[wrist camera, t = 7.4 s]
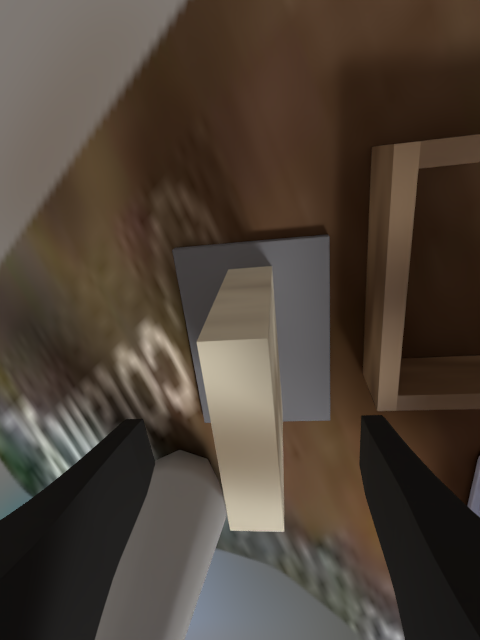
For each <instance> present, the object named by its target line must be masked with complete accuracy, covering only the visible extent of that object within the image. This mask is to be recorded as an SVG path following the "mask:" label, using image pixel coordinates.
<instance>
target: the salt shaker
mask: <svg viewBox="0 0 480 640" xmlns="http://www.w3.org/2000/svg"><path fill="white" fill-rule="evenodd" d="M225 519H226V505H225V501H224V496H223V492H222V490H221V488H220V485H219V481H218V478H217V476H216V474H215V472H214V470H213V469H212V467H211V465H210V463H209V461H208V459H207V458H203V457H200V456H197V455H194V454H191V453H188V452H185V451H182V450H178V451H176V452H173V453H171V454H169V455H167V456H164V457H162V458H160V459H157V460H156V461H155V467H154V471H153V475H152V479H151V482H150V486H149V489H148V493H147V495H146V498H145V501H144V503H143V506H142V508H141V510H140V513H139V515H138V518H137V520H136V523H135V525H134V528H133V530H132V532H131V535H130V537H129V540H128V542H127V545H126V547H125V549H124V552H123V554H122V557H121V559H120V562H119V564H118V567H117V570H116V572H115V575H114V578H113V581H112V584H111V587H110V590H109V594H108V597H107V600H106V603H105V607H104V610H103V613H102V616H101V620H100V623H99V627H98V630H97V634H96V637H95V640H184V639H185V636H186V633H187V631H188V627H189V624H190V622H191V619H192V616H193V613H194V610H195V607H196V604H197V601H198V598H199V595H200V592H201V589H202V586H203V583H204V581H205V578H206V574H207V572H208V569H209V566H210V563H211V560H212V557H213V554H214V551H215V548H216V545H217V542H218V539H219V536H220V533H221V531H222V528H223V525H224V522H225Z"/></svg>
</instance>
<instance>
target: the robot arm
mask: <svg viewBox="0 0 480 640" xmlns="http://www.w3.org/2000/svg"><path fill="white" fill-rule="evenodd" d="M154 467H155V461H154V457H153V454H152V450H151V446H150V443H149V439H148V436H147V432H146V428H145V425H144V421H143V419H126V420H125V421H124V422H122V423H121V424H120V425H119V426H118V427H116V428H115V429H114V430H113V431H112V432H111V433H110V434H109V435H107V436H106V437H105V438H104V439H103V440H102V441H101V442H100V443H99V444H97V445H96V446H95V447H94V448H93V449H92V450H91V451H89V452H88V453H87V454H86V455H85V456H84V457H83V458H81V459H80V460H79V461H78V462H77V463H76V464H75V465H73V466H72V467H71V468H70V469H68V470H67V471H66V472H65V473H64V474H62V475H61V476H60V477H59V478H57V479H56V480H55V481H54V482H53V483H51V484H50V485H49V486H48V487H46V488H45V489H44V490H42V491H41V492H40V493H38V494H37V495H36V496H34V497H33V498H32V499H30V500H29V501H28V502H26V503H25V504H23V505H22V506H20V507H19V508H18V509H16V510H15V511H13V512H12V513H11V514H9V515H7V516H6V517H5V518H3V519H1V520H0V640H95V637H96V634H97V630H98V627H99V623H100V620H101V616H102V613H103V610H104V607H105V603H106V600H107V597H108V594H109V590H110V587H111V584H112V581H113V578H114V575H115V572H116V570H117V567H118V564H119V562H120V559H121V557H122V554H123V552H124V549H125V547H126V545H127V542H128V540H129V537H130V535H131V532H132V530H133V528H134V525H135V523H136V520H137V518H138V515H139V513H140V510H141V508H142V506H143V503H144V501H145V498H146V495H147V493H148V489H149V486H150V482H151V479H152V475H153V471H154ZM360 470H361V475H362V480H363V485H364V490H365V495H366V499H367V502H368V506H369V509H370V512H371V515H372V519H373V522H374V525H375V528H376V532H377V535H378V538H379V541H380V544H381V548H382V551H383V554H384V557H385V560H386V564H387V567H388V570H389V573H390V577H391V580H392V584H393V588H394V591H395V595H396V600H397V604H398V609H399V613H400V618H401V622H402V627H403V631H404V636H405V640H480V456H479V458H478V461H477V465H476V470H475V474H474V479H473V483H472V488H471V492H470V496H469V501H468V505H467V506H466V505H465V504H464V503H463V502H462V501H461V500H460V499H459V498H458V497H457V496H456V495H455V494H454V493H453V492H452V491H451V490H449V489H448V488H447V487H446V486H445V485H444V484H443V483H442V482H441V481H440V480H439V479H438V478H437V477H436V476H435V475H434V474H433V473H432V471H431V470H430V469H429V468H428V467H427V466H426V465H425V464H424V463H423V462H422V461H421V460H420V459H419V458H418V456H417V455H416V454H415V453H414V452H413V451H412V450H411V449H410V448H409V446H408V445H407V444H406V443H405V442H404V441H403V439H402V438H401V437H400V436H399V435H398V433H397V432H396V431H395V430H394V429H393V427H392V426H391V425H390V424H389V422H388V421H387V420H386V419H385V418H384V417H383V416H382V415H366V416H361V439H360Z"/></svg>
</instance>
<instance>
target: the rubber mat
mask: <svg viewBox="0 0 480 640" xmlns="http://www.w3.org/2000/svg"><path fill="white" fill-rule="evenodd" d="M172 252H173V257H174V262H175V268H176V273H177V278H178V283H179V289H180V294H181V299H182V305H183V310H184V315H185V320H186V326H187V331H188V336H189V342H190V347H191V352H192V358H193V363H194V368H195V373H196V379H197V384H198V389H199V395H200V400H201V405H202V411H203V416H204V421H205V423H211V420H210V414H209V409H208V403H207V397H206V392H205V386H204V381H203V375H202V370H201V364H200V358H199V353H198V347H197V340H198V337H199V335H200V333H201V331H202V328H203V326H204V324H205V322H206V319H207V317H208V315H209V312H210V310H211V308H212V306H213V303H214V301H215V299H216V296H217V294H218V292H219V290H220V287H221V285H222V283H223V281H224V278H225V276H226V274H227V271H228V269H240V268H252V267H265V266H272V273H273V286H274V300H275V314H276V327H277V341H278V355H279V368H280V382H281V396H282V414H283V421H323V420H330V256H329V235H316V236H305V237H294V238H282V239H271V240H259V241H248V242H236V243H225V244H213V245H202V246H191V247H179V248H174V249H173V250H172Z"/></svg>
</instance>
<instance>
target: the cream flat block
mask: <svg viewBox="0 0 480 640" xmlns="http://www.w3.org/2000/svg"><path fill="white" fill-rule="evenodd" d="M197 347H198V353H199V358H200V364H201V370H202V375H203V381H204V386H205V392H206V397H207V403H208V409H209V414H210V420H211V425H212V431H213V436H214V442H215V448H216V453H217V459H218V464H219V470H220V475H221V481H222V487H223V492H224V498H225V503H226V509H227V514H228V520H229V526H230V531H271V532H284V479H283V414H282V396H281V382H280V368H279V355H278V341H277V327H276V314H275V300H274V286H273V273H272V266H265V267H252V268H240V269H228V271H227V274H226V276H225V278H224V281H223V283H222V285H221V287H220V290H219V292H218V294H217V296H216V299H215V301H214V303H213V306H212V308H211V310H210V312H209V315H208V317H207V319H206V322H205V324H204V326H203V328H202V331H201V333H200V335H199V337H198V340H197Z"/></svg>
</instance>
